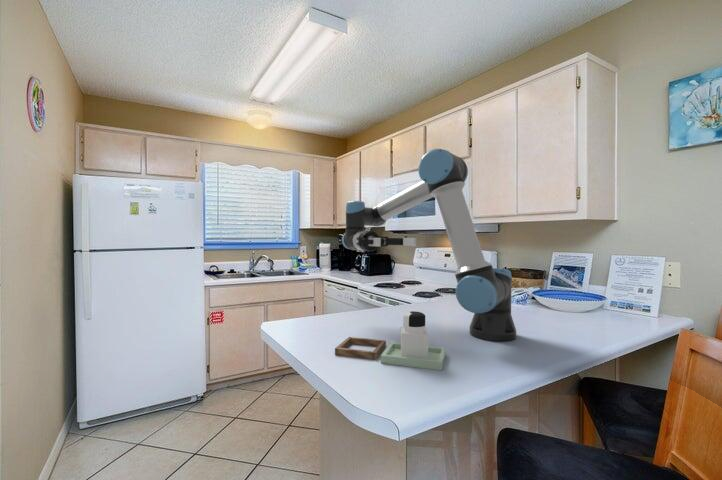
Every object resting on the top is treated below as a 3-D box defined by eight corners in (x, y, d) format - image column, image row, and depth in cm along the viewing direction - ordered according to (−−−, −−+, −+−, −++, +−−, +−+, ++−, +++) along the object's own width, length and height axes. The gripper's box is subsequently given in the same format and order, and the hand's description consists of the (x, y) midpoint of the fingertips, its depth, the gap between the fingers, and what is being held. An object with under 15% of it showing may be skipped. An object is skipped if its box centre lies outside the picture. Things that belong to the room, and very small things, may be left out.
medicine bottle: (425, 352, 99) (426, 310, 99) (428, 361, 92) (428, 316, 92) (400, 351, 100) (401, 309, 100) (401, 359, 93) (401, 315, 93)
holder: (385, 346, 107) (385, 340, 107) (375, 359, 95) (375, 352, 95) (349, 342, 110) (349, 336, 110) (334, 354, 99) (335, 348, 99)
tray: (445, 354, 99) (445, 348, 99) (442, 370, 88) (442, 362, 88) (390, 349, 104) (390, 342, 104) (380, 362, 93) (380, 355, 93)
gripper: (394, 250, 136) (428, 253, 117) (335, 251, 124) (363, 254, 105) (394, 231, 136) (429, 230, 117) (335, 230, 124) (363, 229, 105)
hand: (398, 242), depth 111 cm, fingers open, 13 cm apart
